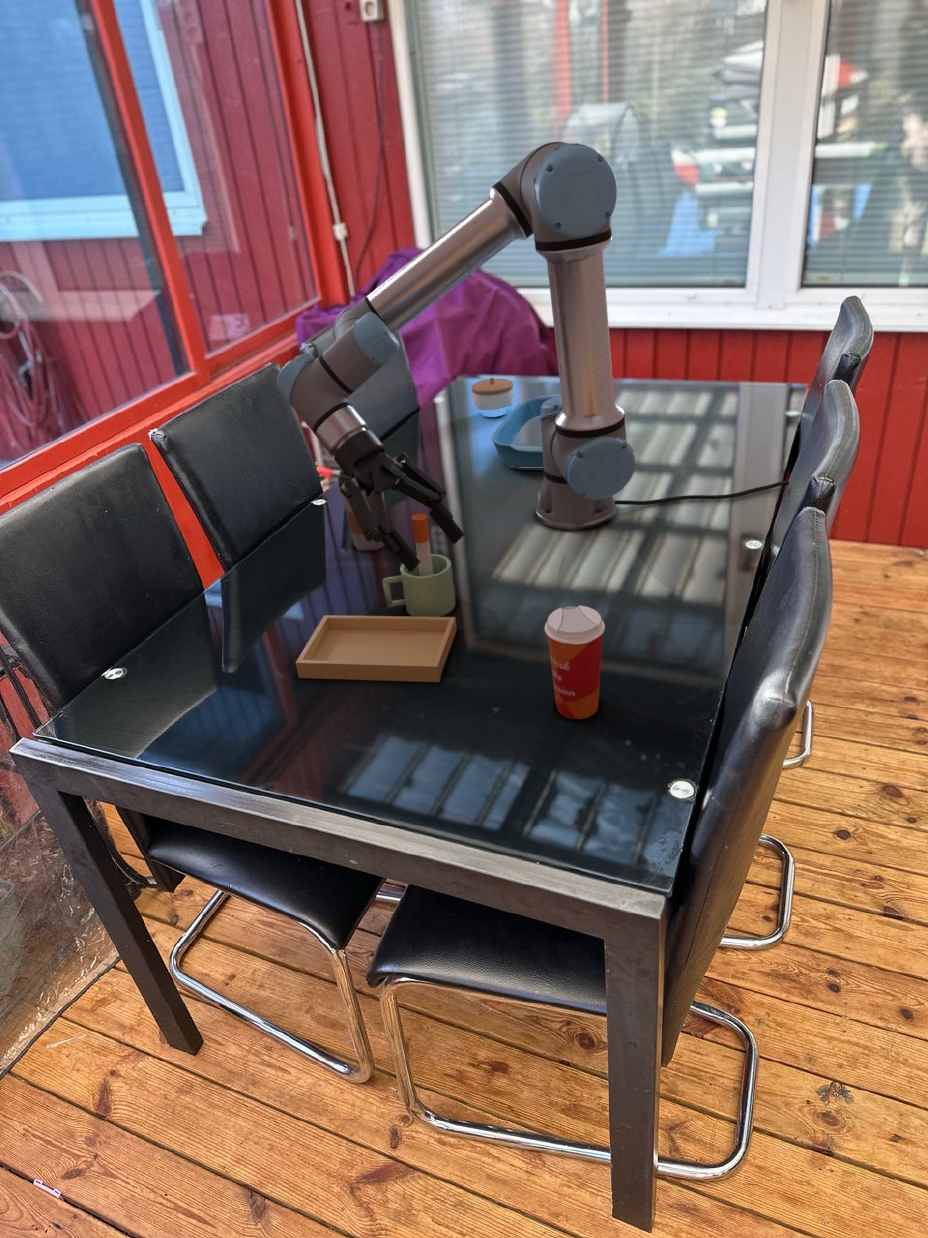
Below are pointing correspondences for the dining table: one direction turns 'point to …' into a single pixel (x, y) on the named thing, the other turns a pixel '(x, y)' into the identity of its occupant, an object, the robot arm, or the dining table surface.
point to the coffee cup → (353, 524)
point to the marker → (422, 544)
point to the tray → (378, 648)
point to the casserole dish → (511, 429)
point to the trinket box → (492, 393)
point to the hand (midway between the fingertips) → (437, 553)
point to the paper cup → (575, 659)
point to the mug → (425, 589)
